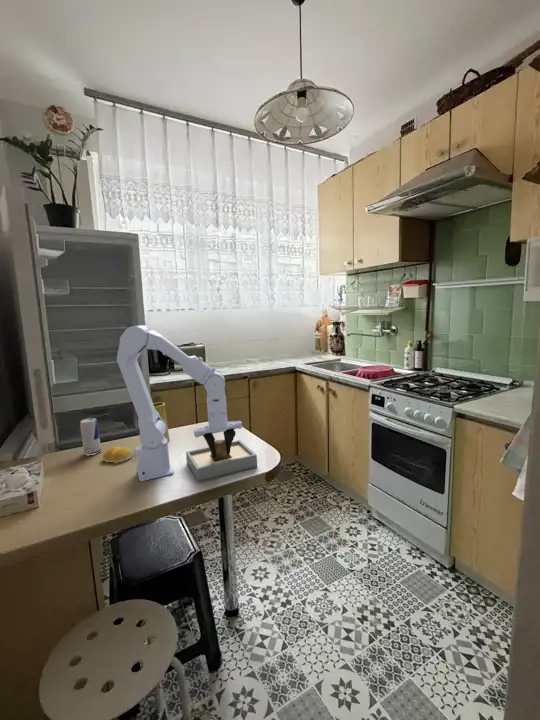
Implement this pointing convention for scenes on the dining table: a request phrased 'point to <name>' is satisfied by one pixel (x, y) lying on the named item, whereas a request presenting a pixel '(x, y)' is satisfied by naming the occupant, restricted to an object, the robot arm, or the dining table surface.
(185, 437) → the dining table surface
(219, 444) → the walnut peg
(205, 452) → the socket box
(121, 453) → the bread roll
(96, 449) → the energy drink
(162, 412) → the vase
